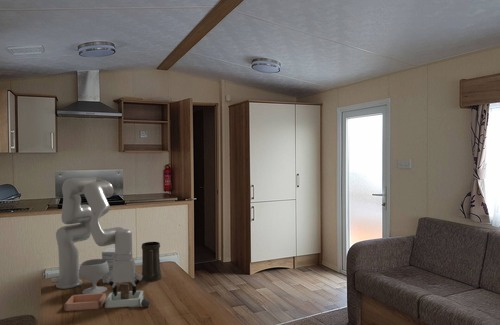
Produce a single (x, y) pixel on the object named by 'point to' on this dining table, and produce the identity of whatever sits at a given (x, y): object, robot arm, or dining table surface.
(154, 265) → the beer stein
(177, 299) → the dining table surface
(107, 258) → the supplement box
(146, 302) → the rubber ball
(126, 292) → the walnut peg
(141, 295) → the grey tub
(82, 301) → the terracotta tub
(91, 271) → the chalice
